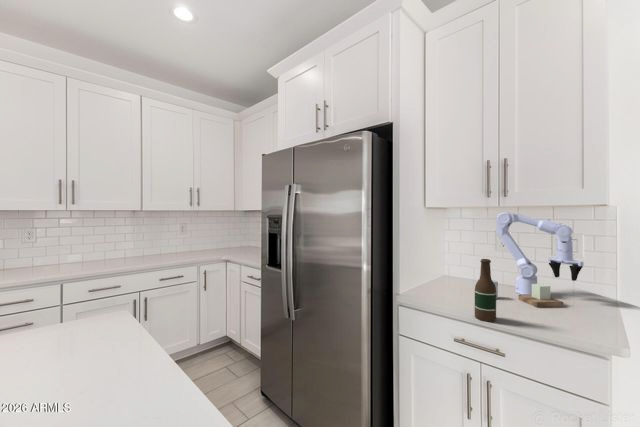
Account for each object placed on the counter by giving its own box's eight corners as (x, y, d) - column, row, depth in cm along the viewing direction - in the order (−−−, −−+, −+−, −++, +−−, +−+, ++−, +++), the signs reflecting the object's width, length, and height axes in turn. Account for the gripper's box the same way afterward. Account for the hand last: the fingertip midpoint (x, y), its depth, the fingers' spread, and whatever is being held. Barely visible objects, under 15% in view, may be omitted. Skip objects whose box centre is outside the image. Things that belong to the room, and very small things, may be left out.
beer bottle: (488, 323, 116) (488, 261, 115) (470, 317, 123) (470, 258, 122) (500, 320, 119) (501, 260, 119) (482, 314, 126) (482, 257, 126)
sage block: (531, 296, 143) (531, 283, 143) (541, 296, 143) (541, 283, 143) (540, 299, 138) (539, 286, 138) (550, 299, 138) (550, 286, 138)
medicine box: (493, 296, 151) (493, 279, 151) (498, 299, 147) (498, 281, 147) (477, 296, 152) (477, 279, 152) (481, 298, 148) (481, 281, 148)
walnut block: (518, 300, 146) (518, 294, 146) (542, 300, 146) (542, 294, 146) (537, 308, 134) (537, 302, 134) (563, 308, 134) (563, 301, 134)
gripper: (543, 249, 150) (544, 276, 150) (575, 252, 136) (576, 282, 136) (553, 248, 152) (554, 275, 152) (586, 251, 138) (587, 281, 138)
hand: (565, 278), depth 144 cm, fingers open, 7 cm apart
